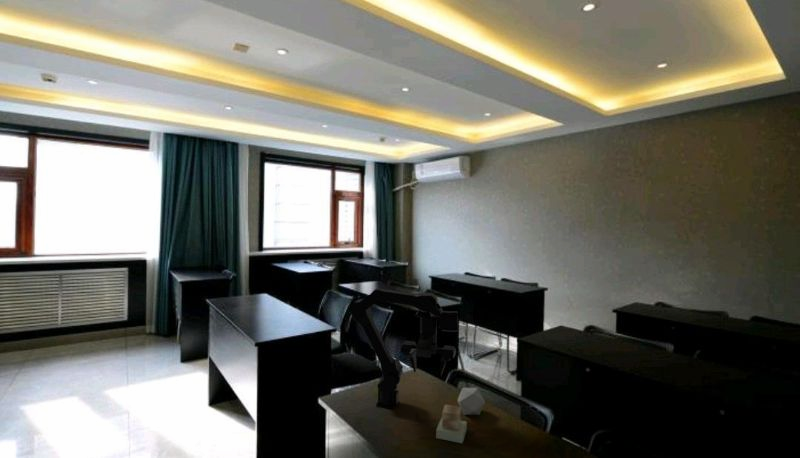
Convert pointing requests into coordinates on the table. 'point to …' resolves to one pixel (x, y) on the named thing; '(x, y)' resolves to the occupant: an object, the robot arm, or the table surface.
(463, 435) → the foundation slab
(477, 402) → the die
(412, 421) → the table surface
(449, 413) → the maple cube
